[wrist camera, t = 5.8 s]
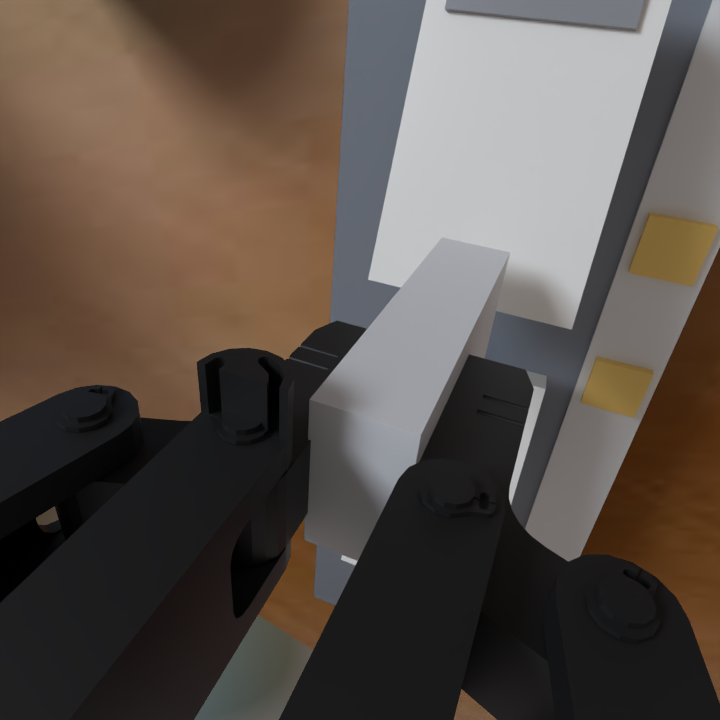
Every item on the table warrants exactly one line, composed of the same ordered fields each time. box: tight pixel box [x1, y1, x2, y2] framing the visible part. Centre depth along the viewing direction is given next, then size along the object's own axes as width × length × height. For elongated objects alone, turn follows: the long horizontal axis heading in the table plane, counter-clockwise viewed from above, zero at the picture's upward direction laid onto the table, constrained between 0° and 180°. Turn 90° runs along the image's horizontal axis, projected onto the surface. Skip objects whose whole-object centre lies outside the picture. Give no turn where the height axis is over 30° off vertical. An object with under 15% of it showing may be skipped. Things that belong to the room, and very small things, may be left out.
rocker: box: [368, 0, 672, 330], centre depth 14 cm, size 5×8×2 cm, turn 174°
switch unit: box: [314, 0, 720, 606], centre depth 23 cm, size 12×32×6 cm, turn 174°
